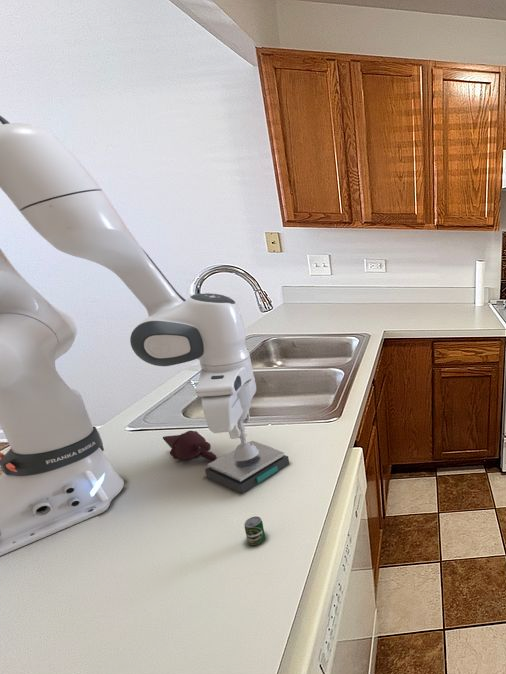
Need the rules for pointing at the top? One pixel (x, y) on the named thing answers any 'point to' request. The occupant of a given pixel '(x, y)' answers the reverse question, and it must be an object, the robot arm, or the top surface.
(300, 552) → the top surface
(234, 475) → the scale pan
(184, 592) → the top surface
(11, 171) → the robot arm
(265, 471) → the scale
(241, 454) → the chalice
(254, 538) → the beer can
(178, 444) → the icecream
